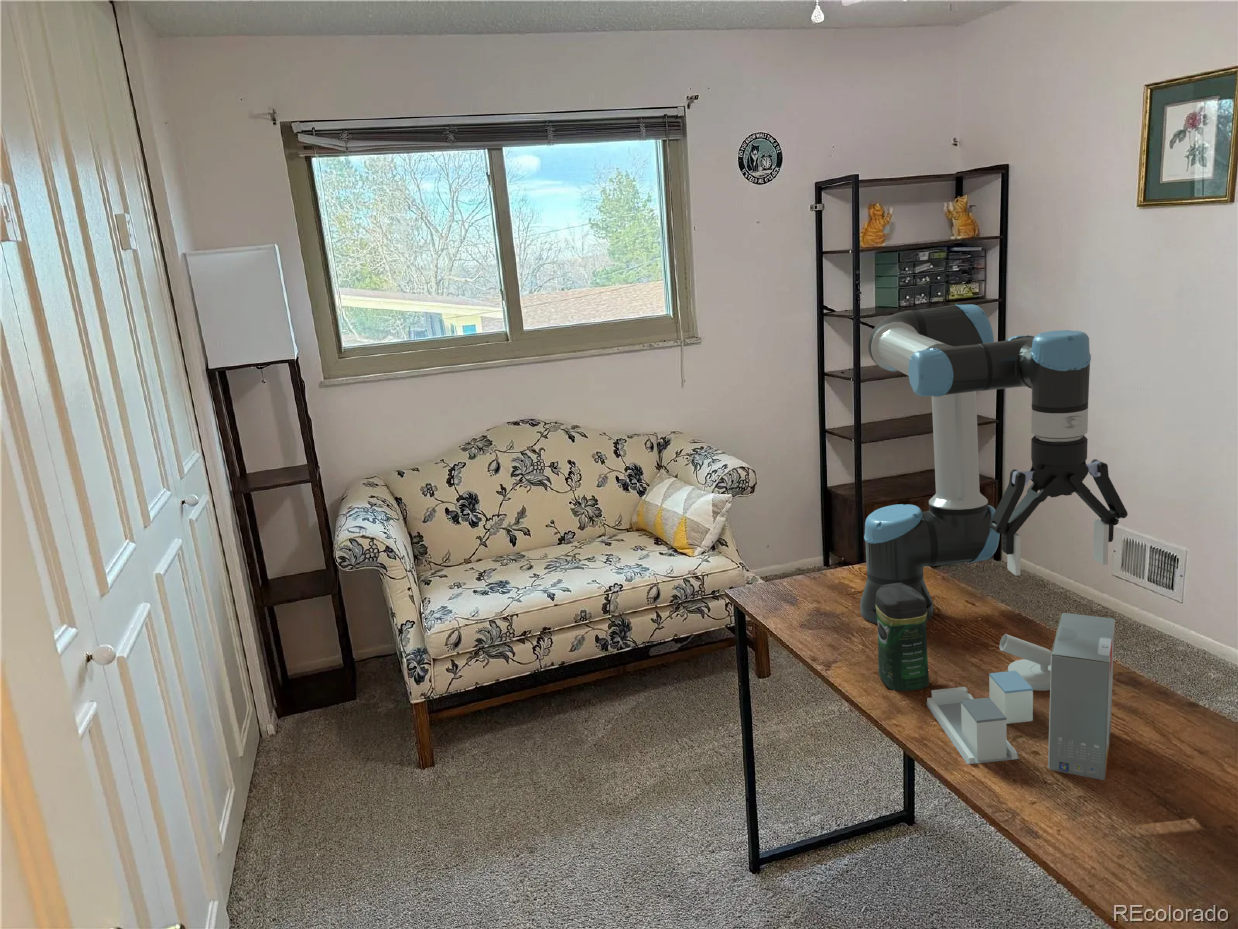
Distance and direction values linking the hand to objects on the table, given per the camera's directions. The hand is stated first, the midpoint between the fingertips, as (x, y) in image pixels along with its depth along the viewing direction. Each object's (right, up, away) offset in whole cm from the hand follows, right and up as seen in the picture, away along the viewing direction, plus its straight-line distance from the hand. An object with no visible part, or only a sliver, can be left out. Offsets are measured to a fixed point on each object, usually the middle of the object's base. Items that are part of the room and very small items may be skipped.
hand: (1056, 567), depth 132 cm
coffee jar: (-16, -25, +25) cm, 38 cm away
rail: (-11, -28, +7) cm, 31 cm away
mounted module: (-11, -29, +1) cm, 31 cm away
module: (-3, -27, +10) cm, 28 cm away
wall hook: (+5, -23, +19) cm, 31 cm away
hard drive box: (+3, -29, -1) cm, 29 cm away
